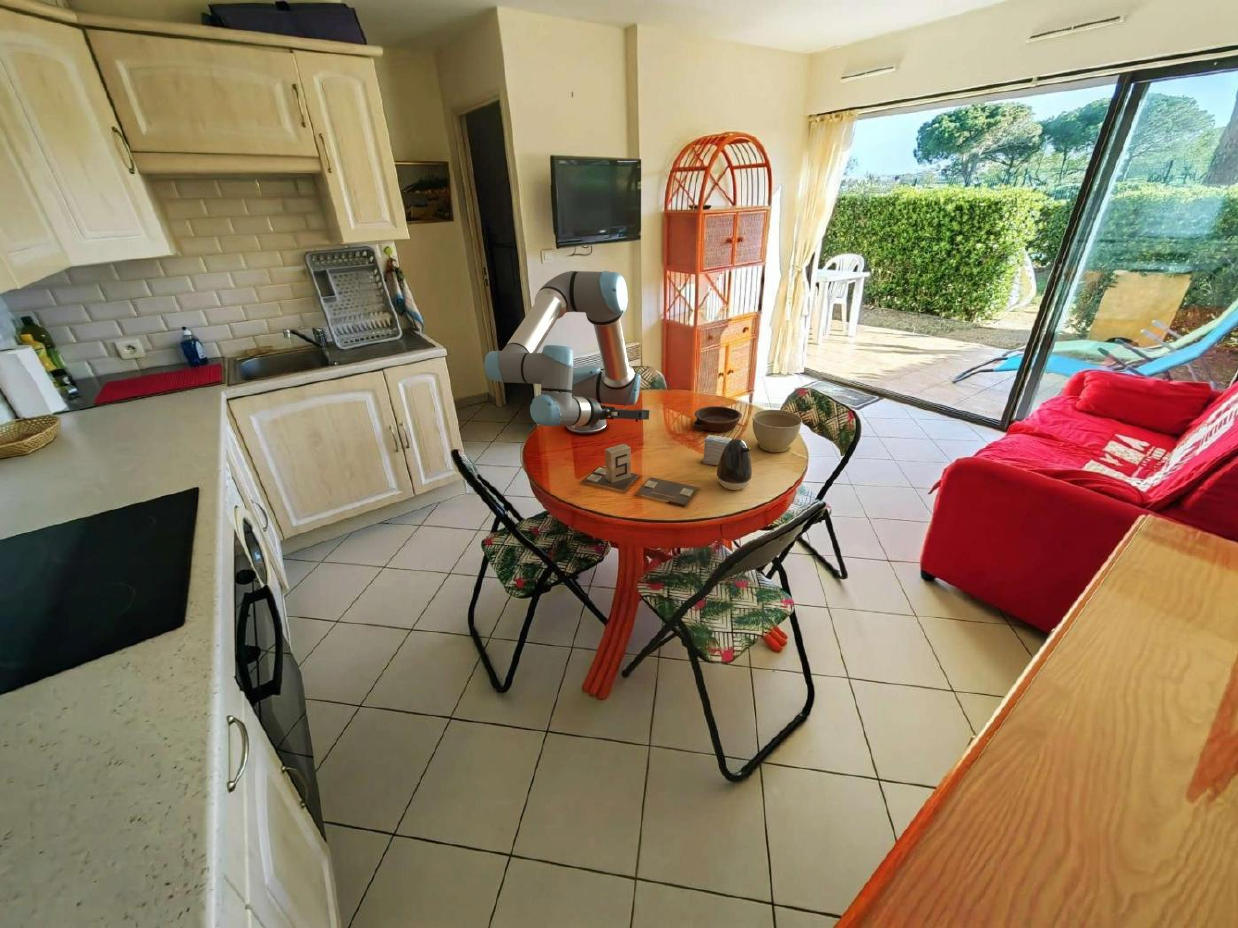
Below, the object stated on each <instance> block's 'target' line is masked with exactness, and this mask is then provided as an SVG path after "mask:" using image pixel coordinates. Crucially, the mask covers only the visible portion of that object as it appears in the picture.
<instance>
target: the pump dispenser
mask: <svg viewBox="0 0 1238 928" xmlns="http://www.w3.org/2000/svg"><path fill="white" fill-rule="evenodd" d="M731 439H732V440H731V441H729V442H728V444H727V445H726V446H725V448H724V450H723V452H722V454H721V457H720V460H719V463H718V465H717V468H716V477H717V479H718V483H719V484H720V485H721V486H722V487H723V488H725V489H727V490H732V491H738V490H742V489H744V488H745V487H746V486H747V485H749V483H750V481H751V480H752V477H753V466H752V459H751V453H750V451H751V448H750V447H748V446H747V444H746V442H745V441H744V440H743V439H741V438H731Z"/></svg>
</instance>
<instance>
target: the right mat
mask: <svg viewBox="0 0 1238 928" xmlns="http://www.w3.org/2000/svg"><path fill="white" fill-rule="evenodd" d="M697 489H698V486H694V485H689V484H684V483H680V482H675V481H670V480H666V479H665V480H664V479H662V478H661V479H660V478H656V477H653V476H652V477H651V476H650V478H649V479H648V480H646V482H645V484H643V485H642V486H641V488H639V490H638V491H636V495H641V496H645V497H649V498H654V499H657V500H661V501H662V500H663V501H666V502H665V503H666V504H671V505H674V506H675V505H676V506H679V507H684V508H685V507H686V506H687V505H688V503H689V502H690V501H691V499H692V498H693V497H694V495H695V493H696V492H697V491H696V490H697Z"/></svg>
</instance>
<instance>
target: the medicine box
mask: <svg viewBox="0 0 1238 928" xmlns="http://www.w3.org/2000/svg"><path fill="white" fill-rule="evenodd" d="M732 439H733V438H732V437H726V436H720V435H714V434H713V435H712V434H708V435H707V436H706V437H705V439H704V445H703V446H704V447H703V460H702V461H703V464H707V465H712V466H718V463H719V460H720V457H721V454H722V452H723V450H724V448H725V446H726V445H727V444H728V442H729V441H731V440H732Z"/></svg>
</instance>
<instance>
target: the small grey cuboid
mask: <svg viewBox="0 0 1238 928" xmlns="http://www.w3.org/2000/svg"><path fill="white" fill-rule="evenodd" d="M631 453H632V449H631V446H629V445H627V444H625V443H622V444H618V445H614V446H611V447H608V448H604V462H605V463H604V466H605V468H606V479H607V480H608V481H610V482H611V483H613V482H616V481H619V480H622V479H626V478H629V477H631V473H632V463H631V461H632V455H631Z"/></svg>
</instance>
